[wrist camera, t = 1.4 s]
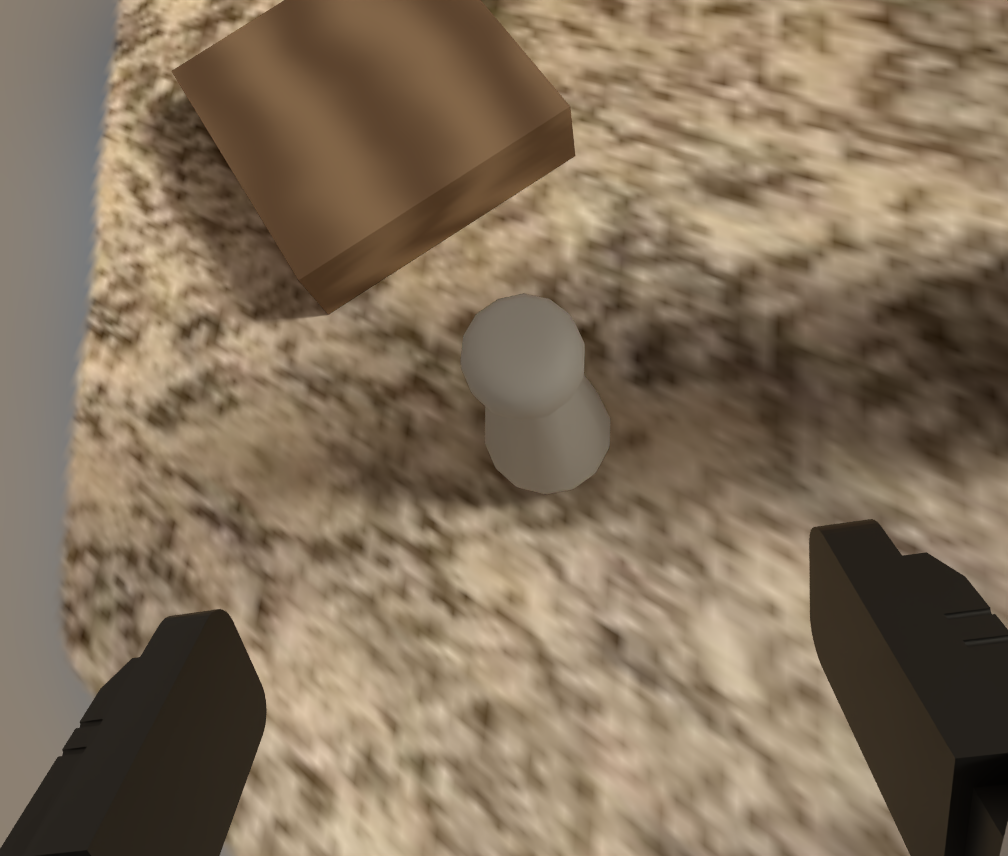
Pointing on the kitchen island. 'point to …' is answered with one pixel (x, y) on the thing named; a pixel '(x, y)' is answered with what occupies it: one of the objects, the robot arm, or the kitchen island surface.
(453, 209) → the walnut riser
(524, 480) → the salt shaker
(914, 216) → the kitchen island surface
